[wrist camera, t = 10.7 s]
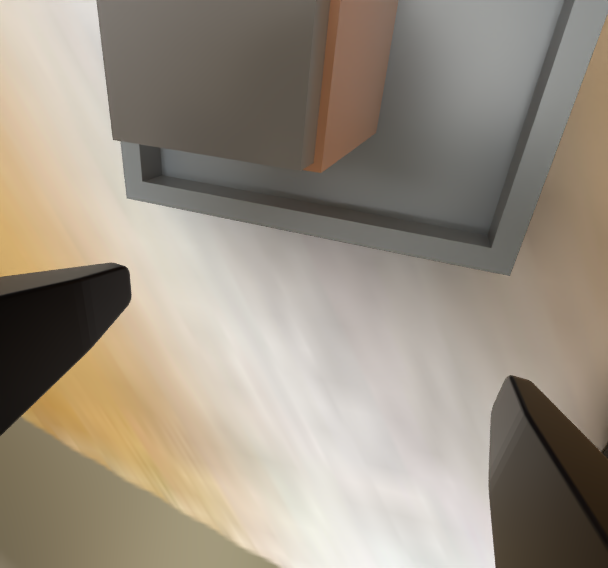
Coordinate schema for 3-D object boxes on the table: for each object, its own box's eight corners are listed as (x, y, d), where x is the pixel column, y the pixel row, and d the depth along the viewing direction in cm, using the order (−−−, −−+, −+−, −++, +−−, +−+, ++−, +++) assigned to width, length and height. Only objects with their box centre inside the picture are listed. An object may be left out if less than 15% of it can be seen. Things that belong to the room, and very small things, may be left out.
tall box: (400, -13, 15) (341, -146, 6) (376, 132, 17) (308, 181, 9) (271, -20, 16) (69, -142, 7) (265, 117, 18) (107, 147, 10)
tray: (656, -182, 12) (701, -237, 10) (502, 254, 18) (509, 276, 16) (129, -168, 16) (83, -206, 14) (155, 187, 22) (126, 198, 20)
